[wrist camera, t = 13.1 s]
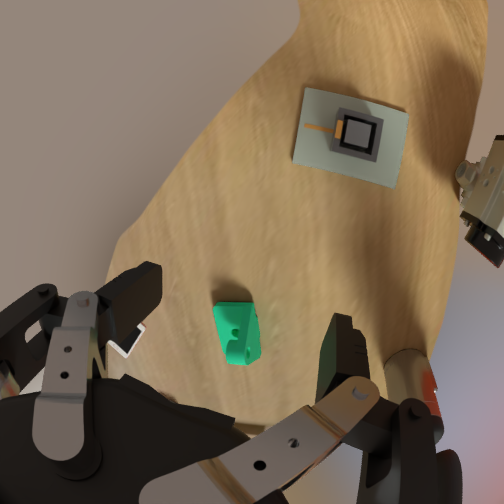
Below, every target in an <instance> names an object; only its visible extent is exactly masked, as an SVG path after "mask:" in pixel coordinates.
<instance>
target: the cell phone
mask: <svg viewBox="0 0 504 504" xmlns="http://www.w3.org/2000/svg"><path fill="white" fill-rule="evenodd" d="M145 329H146V326H145V325H144V324H143V323H142V322H141V323H140V324H139V325H138V326H137V327H136V328H135V329H134V330H133V331H132V332H131V333H130V334H129V335H128V336H127V337H126V338H125V339H124V340H123V341H122V342H121V343H120V344H117V343H115V342H113V341H111V340H109V341H108V343H109V344H110V345H111V346H112V347H113V348H115V349H116V350H117V351H118V352H119V353H120V354H121V355H122V356H123V357H125V358H127V357H128V356H129V354H130V353H131V351H132V350H133V348H134V346H135V345H136V343H137V342H138V340H139V339H140V337H141V335H142V334H143V332H144V331H145Z"/></svg>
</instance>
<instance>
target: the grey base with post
mask: <svg viewBox="0 0 504 504" xmlns="http://www.w3.org/2000/svg"><path fill="white" fill-rule="evenodd" d="M339 107H341V108H345V109H349V110H353V111H357V112H361V113H364V114H368V115H371V116H375V117H378V118H381V119H384V122H383V128H382V134H381V140H380V145H379V151H378V156H377V161H376V163H375V162H370V161H366V160H363V159H359V158H355V157H352V156H348V155H344V154H340V153H336V152H332V151H330V147H331V142H332V136H333V131H334V125H335V119H336V113H337V111H338V109H339ZM408 119H409V114H407V113H404V112H401V111H398V110H395V109H392V108H389V107H386V106H382V105H379V104H376V103H372V102H369V101H365V100H362V99H358V98H354V97H350V96H346V95H342V94H337V93H333V92H328V91H323V90H318V89H313V88H307V87H305V92H304V98H303V104H302V110H301V116H300V122H299V128H298V134H297V139H296V145H295V151H294V156H293V162H292V163H294V164H299V165H304V166H309V167H313V168H317V169H322V170H326V171H330V172H334V173H338V174H342V175H346V176H350V177H354V178H358V179H361V180H365V181H368V182H372V183H375V184H379V185H382V186H386V187H389V188H392V189H395V187H396V183H397V178H398V174H399V169H400V164H401V160H402V155H403V149H404V144H405V138H406V132H407V126H408ZM370 131H371V125H368V124H364V123H361V122H357V121H353V120H349V119H348V120H344V121H343V127H342V132H341V138H340V143H339V147H343V148H347V149H351V150H355V151H358V152H362V153H365V152H366V148H368V142H369V137H370Z"/></svg>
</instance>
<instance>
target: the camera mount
mask: <svg viewBox="0 0 504 504" xmlns="http://www.w3.org/2000/svg"><path fill="white" fill-rule="evenodd" d="M213 313H214V317H215V322H216V326H217V330H218V334H219V338H220V342H221V346H222V350H223V352H224V353H225V354H226V360H227V362H228V363H229V364H238V365H249V364H251V363H252V362H254V361H255V360H257V359H258V358H260V355H261V347H260V340H259V338H260V331H259V324H258V317H256V314H255V308H254V303H244V302H218V303H216V305H215V306H214V308H213ZM238 329H239V330H238Z"/></svg>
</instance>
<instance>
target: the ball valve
mask: <svg viewBox="0 0 504 504" xmlns="http://www.w3.org/2000/svg"><path fill="white" fill-rule="evenodd" d="M455 177H456V180H457V181H458V182H459V185H460V187H461V188H463V189H464V190H463V192H462V194H461V196H462V197H463V200H462V202H461V204H460V205H461V206H462V207H463V208H464V209H463V211H462V213H461V215H460V217H461V218H462V219H463V220H464V221H465V222H464V224H465V225H466V226H467V227H468V226H469V225H470V226H471V227H470V229H469V231H468V233H467V235H466V236H465V240H466V241H467V242H468V243H469V244H470V245H471V246H473V247H474V248H475V249H476V250H477V251H479V252H480V253H481V254H482V255H483V256H484V257H485V258H487V259H488V260H489V261H490V262H491V263H492V264H493V265H494V266H496V267H497V268H499V267H500V265H501V264H502V262H503V260H504V135H496V137H495V139H494V141H493V144H492V147H491V150H490V152H489V155H488V157H487V158H486V157H482V159H481V161H480V162H476V164H473V163H470V162H468V161H467V160H465V161H463V162H462V163H460V165H459V166H458V168H457V170H456V173H455Z"/></svg>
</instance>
